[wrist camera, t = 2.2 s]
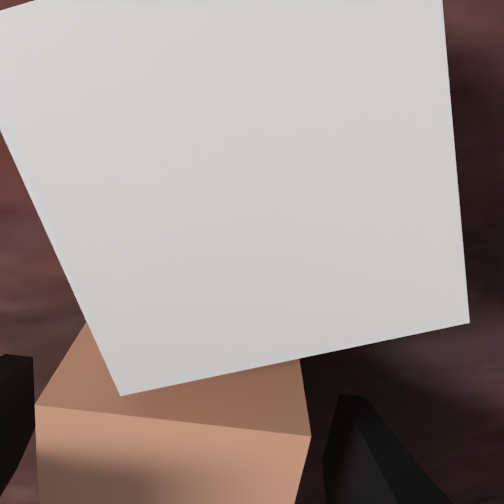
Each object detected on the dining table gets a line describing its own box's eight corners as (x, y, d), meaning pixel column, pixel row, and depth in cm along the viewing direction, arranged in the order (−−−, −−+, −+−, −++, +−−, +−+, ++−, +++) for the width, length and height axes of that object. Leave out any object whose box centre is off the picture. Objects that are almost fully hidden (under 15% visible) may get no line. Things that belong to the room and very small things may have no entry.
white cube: (377, 210, 11) (470, 322, 6) (173, 258, 11) (120, 396, 7) (340, -29, 9) (432, -119, 4) (97, 40, 10) (-48, 25, 5)
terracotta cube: (263, 437, 14) (268, 605, 9) (107, 420, 13) (41, 584, 9) (290, 303, 12) (311, 436, 8) (112, 280, 12) (34, 405, 7)
